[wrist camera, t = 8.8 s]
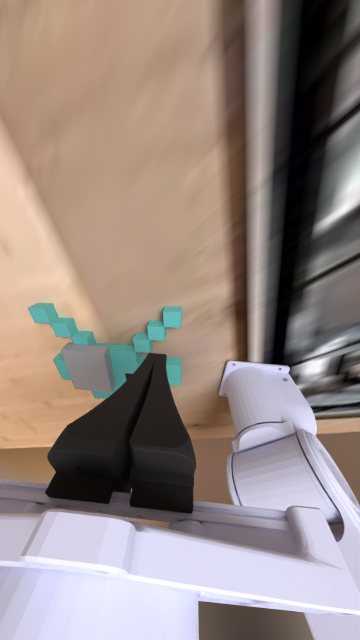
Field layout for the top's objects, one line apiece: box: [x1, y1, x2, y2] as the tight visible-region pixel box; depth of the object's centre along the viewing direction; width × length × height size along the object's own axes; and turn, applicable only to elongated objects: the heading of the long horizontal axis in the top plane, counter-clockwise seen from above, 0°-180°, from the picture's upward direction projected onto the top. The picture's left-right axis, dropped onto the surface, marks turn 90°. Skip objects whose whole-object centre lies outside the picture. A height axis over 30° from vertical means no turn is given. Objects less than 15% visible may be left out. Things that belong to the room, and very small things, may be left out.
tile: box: [61, 343, 116, 393], centre depth 25 cm, size 2×8×6 cm
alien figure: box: [28, 303, 181, 399], centre depth 27 cm, size 20×2×20 cm
